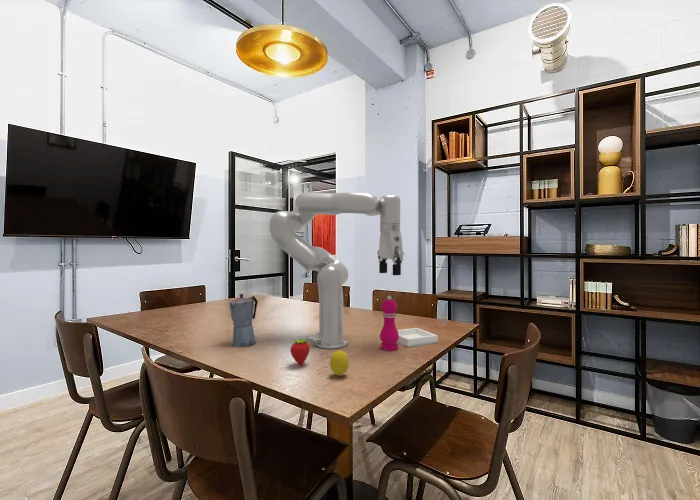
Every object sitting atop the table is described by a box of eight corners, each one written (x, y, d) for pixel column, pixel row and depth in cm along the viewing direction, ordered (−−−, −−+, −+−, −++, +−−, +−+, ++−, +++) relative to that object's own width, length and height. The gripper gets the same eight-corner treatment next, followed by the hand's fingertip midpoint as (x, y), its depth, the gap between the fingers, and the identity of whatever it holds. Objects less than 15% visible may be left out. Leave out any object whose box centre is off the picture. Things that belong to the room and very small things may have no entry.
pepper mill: (398, 351, 130) (398, 297, 130) (378, 350, 132) (378, 296, 131) (399, 346, 137) (399, 294, 137) (380, 345, 139) (380, 294, 138)
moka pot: (220, 347, 136) (220, 295, 136) (246, 337, 150) (246, 290, 150) (241, 350, 132) (240, 296, 132) (265, 339, 147) (265, 291, 146)
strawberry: (286, 368, 113) (286, 337, 113) (297, 360, 120) (297, 331, 120) (303, 370, 111) (302, 338, 111) (313, 362, 118) (313, 333, 118)
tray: (407, 347, 135) (407, 339, 135) (389, 338, 148) (389, 331, 148) (437, 342, 141) (437, 335, 141) (416, 334, 154) (417, 327, 154)
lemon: (330, 373, 109) (329, 347, 109) (348, 372, 109) (347, 346, 109) (330, 380, 103) (330, 352, 103) (349, 379, 104) (349, 352, 104)
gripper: (411, 228, 127) (411, 275, 127) (386, 229, 143) (386, 272, 143) (393, 227, 124) (393, 276, 124) (370, 229, 140) (370, 272, 140)
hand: (389, 274), depth 134 cm, fingers open, 9 cm apart
